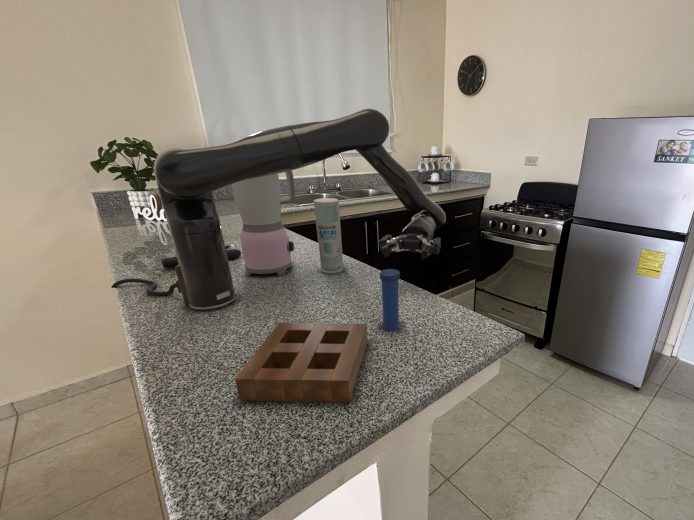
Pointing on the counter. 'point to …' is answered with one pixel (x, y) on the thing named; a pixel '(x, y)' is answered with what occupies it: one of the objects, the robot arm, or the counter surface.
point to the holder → (305, 364)
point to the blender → (264, 223)
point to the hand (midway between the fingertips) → (404, 253)
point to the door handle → (230, 249)
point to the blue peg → (390, 298)
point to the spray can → (329, 234)
